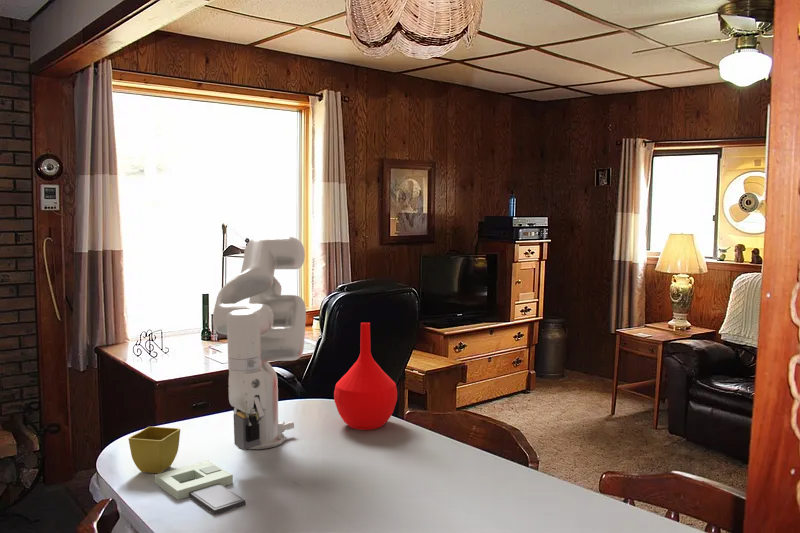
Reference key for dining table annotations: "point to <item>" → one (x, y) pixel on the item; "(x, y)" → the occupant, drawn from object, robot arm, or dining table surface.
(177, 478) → the outlet plate
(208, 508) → the phone slab
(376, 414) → the vase
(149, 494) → the dining table surface
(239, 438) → the block
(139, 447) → the flower pot
